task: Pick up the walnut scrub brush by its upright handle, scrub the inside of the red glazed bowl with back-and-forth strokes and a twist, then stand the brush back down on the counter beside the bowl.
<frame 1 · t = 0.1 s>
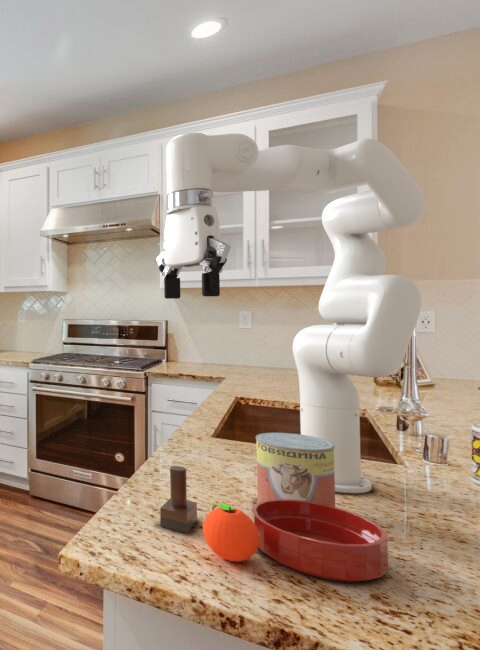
hand: (190, 297, 87), 37 cm above the countertop, tool pointing down, fingers open, 9 cm apart
bowl: (315, 555, 67), on the countertop
clementine: (228, 557, 67), on the countertop
canned food: (295, 510, 82), on the countertop
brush: (179, 523, 77), on the countertop
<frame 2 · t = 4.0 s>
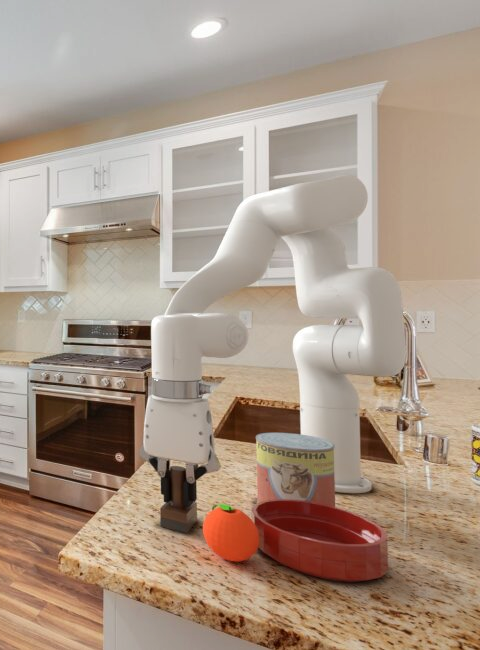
hand: (178, 501, 77), 4 cm above the countertop, tool pointing down, fingers closed on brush, 2 cm apart
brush: (179, 523, 77), on the countertop, touching gripper
everything else where it was.
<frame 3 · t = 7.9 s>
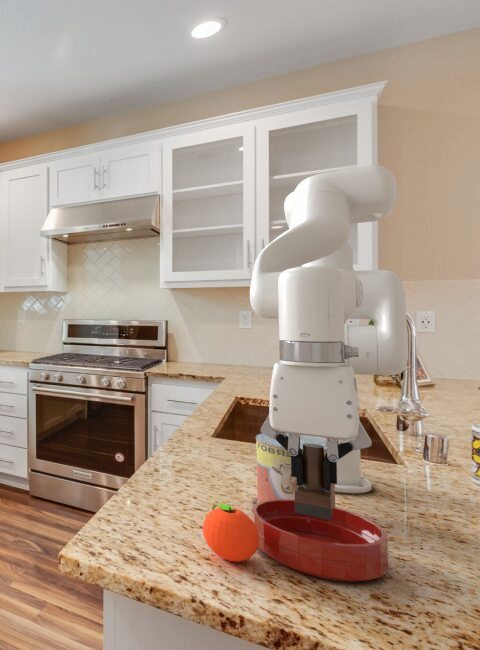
hand: (314, 484, 67), 10 cm above the countertop, tool pointing down, fingers closed on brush, 2 cm apart
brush: (314, 510, 66), point 7 cm above the countertop, touching gripper
everything else where it was.
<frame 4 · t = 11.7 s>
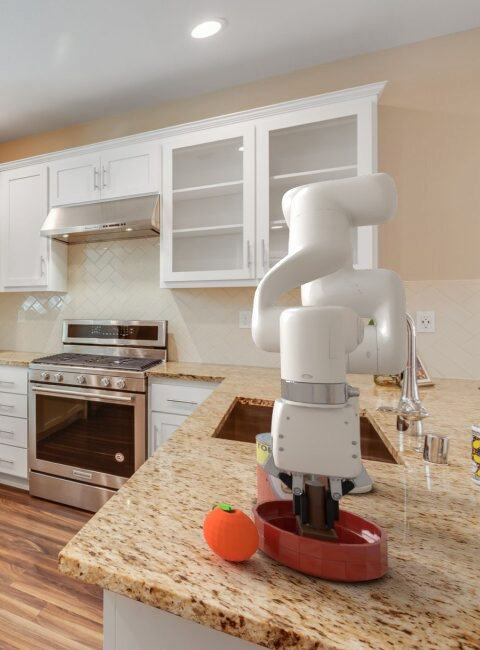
hand: (315, 521, 67), 4 cm above the countertop, tool pointing down, fingers closed on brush, 2 cm apart
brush: (316, 547, 67), point 1 cm above the countertop, touching gripper
everything else where it was.
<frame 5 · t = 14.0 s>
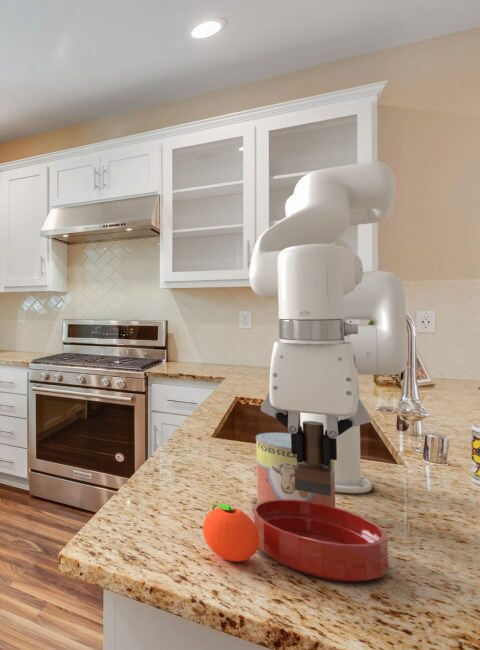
hand: (313, 460, 67), 13 cm above the countertop, tool pointing down, fingers closed on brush, 2 cm apart
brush: (314, 486, 67), point 10 cm above the countertop, touching gripper
everything else where it was.
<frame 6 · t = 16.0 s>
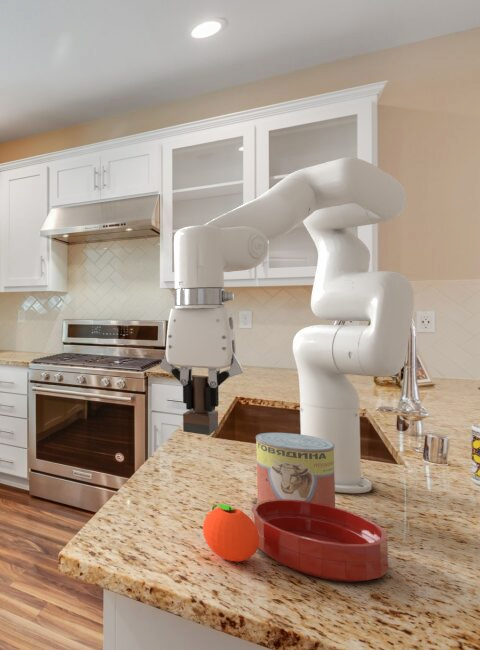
hand: (200, 408, 80), 18 cm above the countertop, tool pointing down, fingers closed on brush, 2 cm apart
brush: (200, 430, 79), point 15 cm above the countertop, touching gripper
everything else where it was.
when the fingers open (4 cm above the countertop, at t = 19.5 s): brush stays where it is, on the countertop.
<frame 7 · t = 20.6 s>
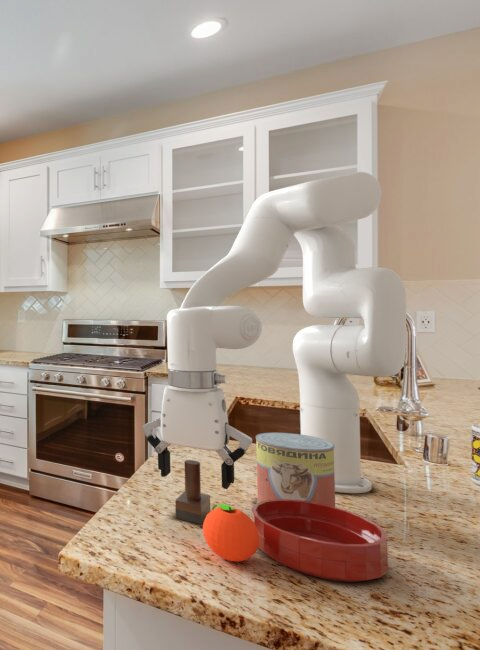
hand: (195, 480, 81), 6 cm above the countertop, tool pointing down, fingers open, 9 cm apart
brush: (193, 515, 80), on the countertop
everything else where it was.
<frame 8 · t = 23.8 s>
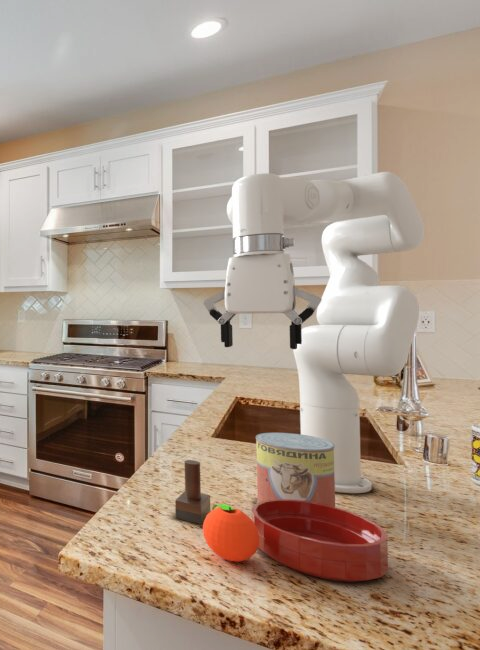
hand: (259, 347, 81), 28 cm above the countertop, tool pointing down, fingers open, 9 cm apart
nothing on the countertop moved.
at the end: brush inside the target area (0.3 cm from its centre), on the countertop; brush tilted 0°; the gripper is holding nothing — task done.
